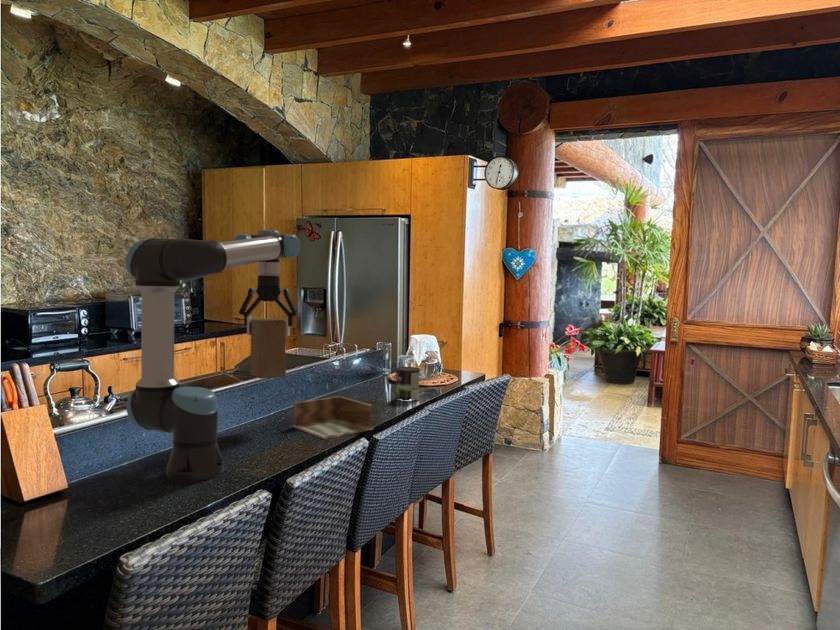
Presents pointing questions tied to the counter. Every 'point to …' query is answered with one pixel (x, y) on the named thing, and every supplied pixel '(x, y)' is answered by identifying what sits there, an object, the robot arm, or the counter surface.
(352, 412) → the corner arena
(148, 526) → the counter surface
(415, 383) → the coffee can
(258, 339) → the wooden block
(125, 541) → the counter surface
